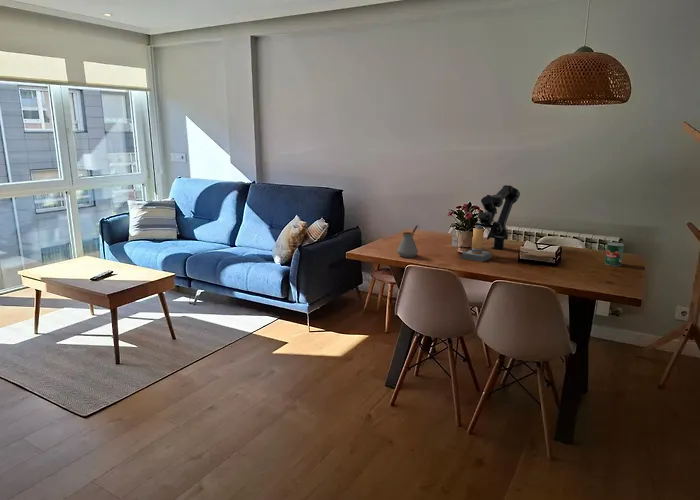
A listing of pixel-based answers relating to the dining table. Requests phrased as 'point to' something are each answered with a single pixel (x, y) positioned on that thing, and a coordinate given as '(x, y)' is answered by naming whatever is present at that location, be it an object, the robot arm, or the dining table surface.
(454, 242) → the ink cartridge box
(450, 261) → the dining table surface
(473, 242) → the housing
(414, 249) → the coffee pot
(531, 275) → the dining table surface
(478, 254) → the stand
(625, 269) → the dining table surface
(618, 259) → the canned tomato
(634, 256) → the dining table surface
